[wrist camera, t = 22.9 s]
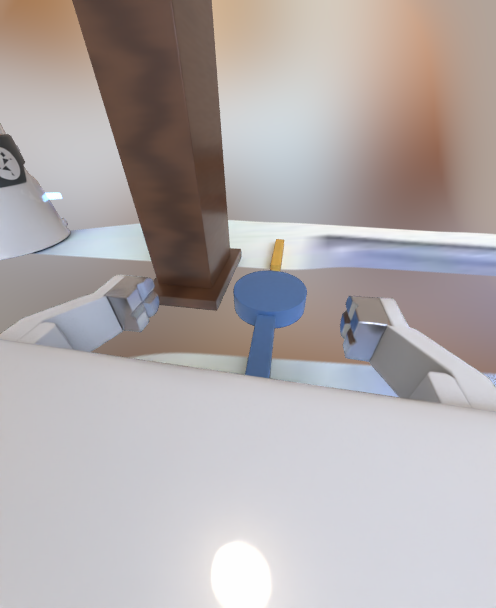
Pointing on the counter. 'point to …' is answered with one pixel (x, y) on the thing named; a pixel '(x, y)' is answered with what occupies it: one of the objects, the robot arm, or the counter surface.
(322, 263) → the counter surface
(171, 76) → the spoon stand
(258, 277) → the spoon
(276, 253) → the fry
